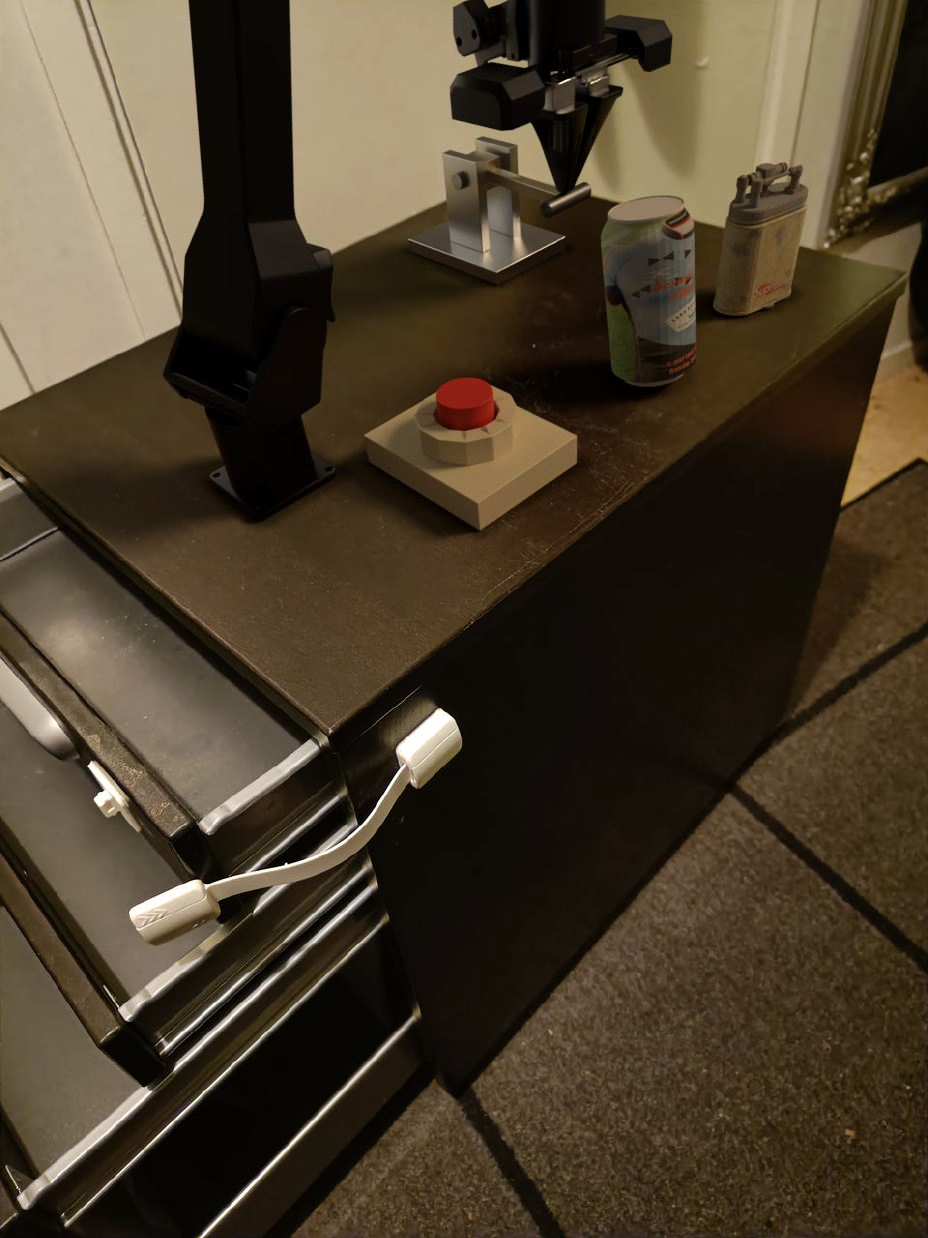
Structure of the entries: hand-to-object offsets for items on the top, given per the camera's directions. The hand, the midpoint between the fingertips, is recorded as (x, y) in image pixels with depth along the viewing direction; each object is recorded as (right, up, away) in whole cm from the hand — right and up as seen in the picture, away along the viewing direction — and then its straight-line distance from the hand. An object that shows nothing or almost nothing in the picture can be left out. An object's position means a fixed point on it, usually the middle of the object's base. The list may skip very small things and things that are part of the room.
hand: (564, 191), depth 68 cm
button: (-8, -22, -15) cm, 28 cm away
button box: (-8, -24, -12) cm, 28 cm away
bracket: (-6, 0, +11) cm, 12 cm away
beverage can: (+5, -17, -6) cm, 19 cm away
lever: (-3, +2, +4) cm, 6 cm away
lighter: (+15, -9, 0) cm, 18 cm away
